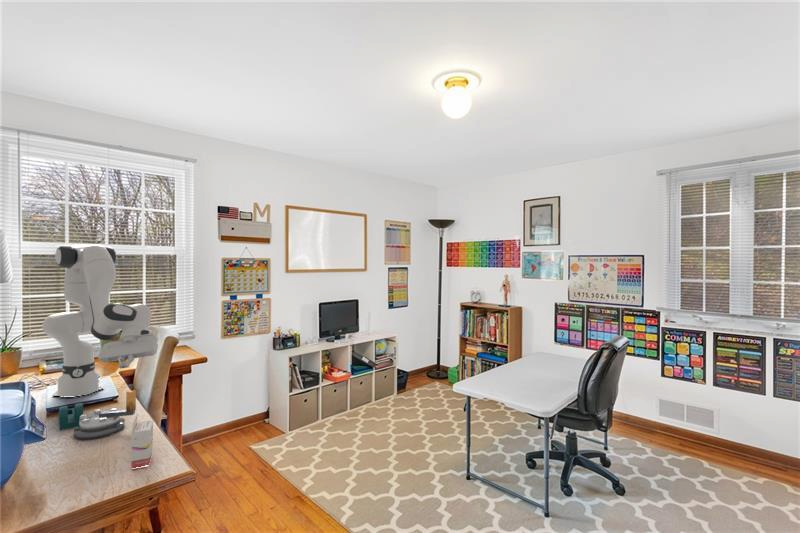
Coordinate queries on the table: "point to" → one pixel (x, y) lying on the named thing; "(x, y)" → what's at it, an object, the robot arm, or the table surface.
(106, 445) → the table surface
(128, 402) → the lugged valve handwheel
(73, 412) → the bracket
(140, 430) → the ink cartridge box
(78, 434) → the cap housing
